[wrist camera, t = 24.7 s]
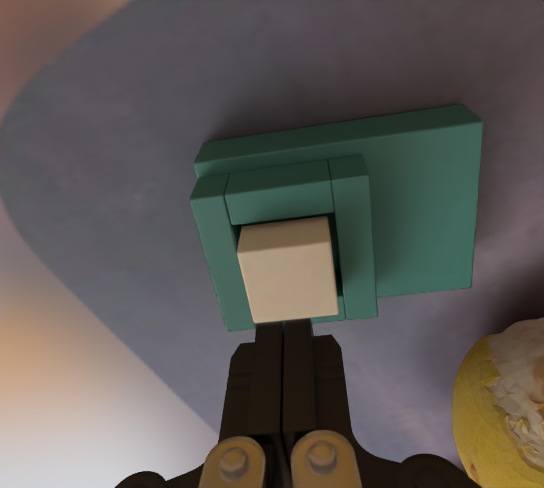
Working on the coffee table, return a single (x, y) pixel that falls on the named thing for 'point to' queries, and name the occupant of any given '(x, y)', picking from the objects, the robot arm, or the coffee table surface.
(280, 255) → the key
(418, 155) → the teal stepped plate
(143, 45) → the coffee table surface
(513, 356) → the fruit
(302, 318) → the robot arm
